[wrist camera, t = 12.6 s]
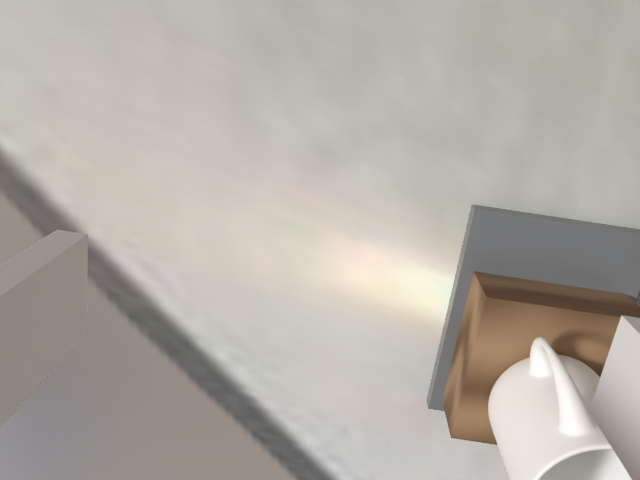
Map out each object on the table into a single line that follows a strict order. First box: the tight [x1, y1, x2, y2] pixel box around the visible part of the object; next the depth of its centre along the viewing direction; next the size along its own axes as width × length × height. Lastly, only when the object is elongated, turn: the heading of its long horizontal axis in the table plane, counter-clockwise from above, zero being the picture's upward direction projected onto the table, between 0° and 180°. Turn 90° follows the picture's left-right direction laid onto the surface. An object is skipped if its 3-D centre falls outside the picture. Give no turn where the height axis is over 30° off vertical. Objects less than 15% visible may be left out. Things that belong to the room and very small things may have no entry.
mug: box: [488, 337, 632, 480], centre depth 38 cm, size 9×12×11 cm
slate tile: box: [427, 205, 640, 411], centre depth 48 cm, size 18×14×1 cm
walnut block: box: [442, 271, 640, 445], centre depth 46 cm, size 12×12×5 cm
